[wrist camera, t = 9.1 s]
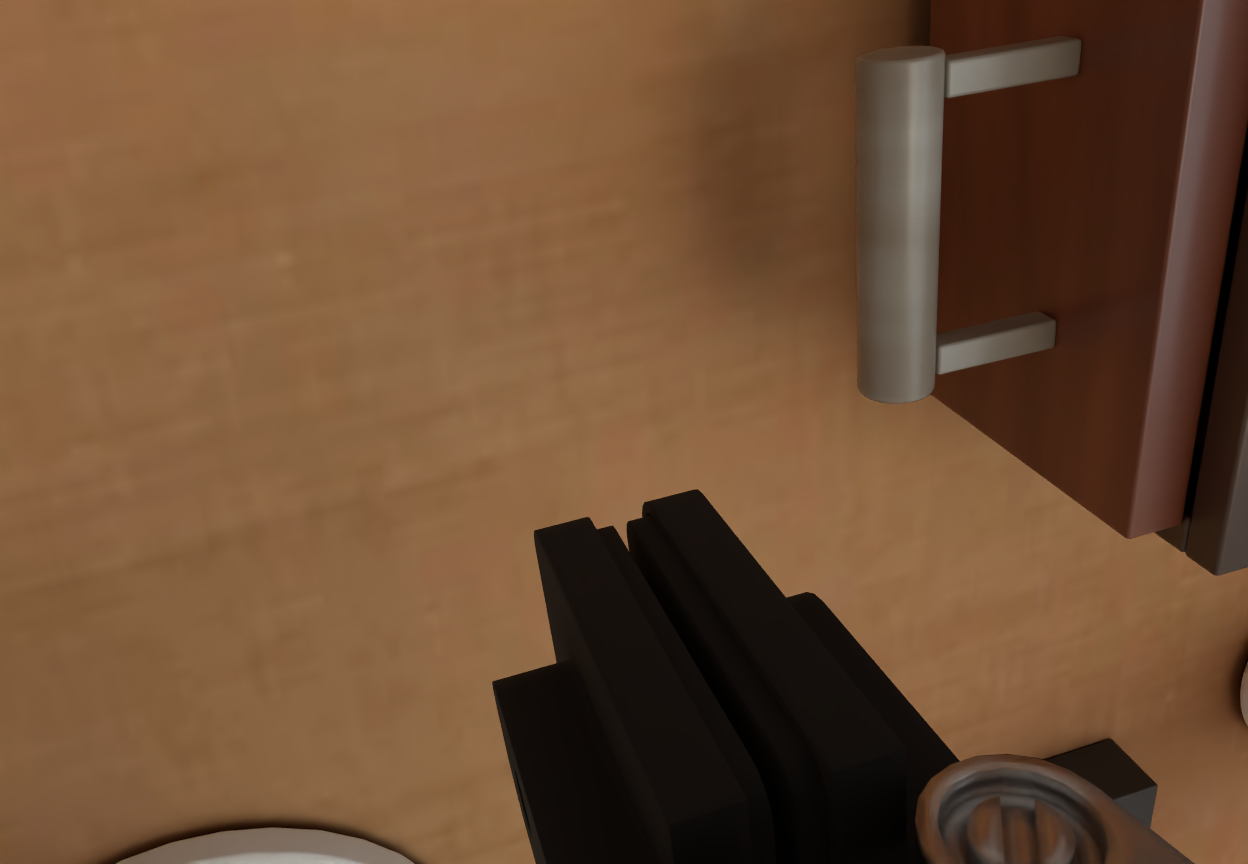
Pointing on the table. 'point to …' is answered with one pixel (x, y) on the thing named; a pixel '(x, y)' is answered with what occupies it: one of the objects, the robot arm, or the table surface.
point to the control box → (1113, 776)
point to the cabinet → (1222, 446)
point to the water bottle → (1244, 695)
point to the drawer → (1057, 232)
